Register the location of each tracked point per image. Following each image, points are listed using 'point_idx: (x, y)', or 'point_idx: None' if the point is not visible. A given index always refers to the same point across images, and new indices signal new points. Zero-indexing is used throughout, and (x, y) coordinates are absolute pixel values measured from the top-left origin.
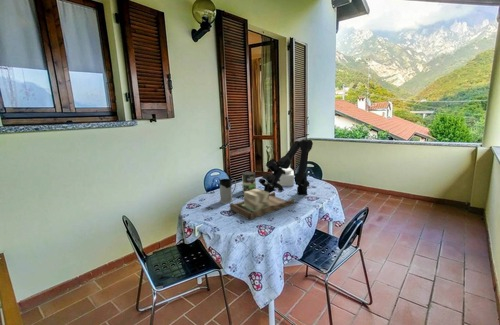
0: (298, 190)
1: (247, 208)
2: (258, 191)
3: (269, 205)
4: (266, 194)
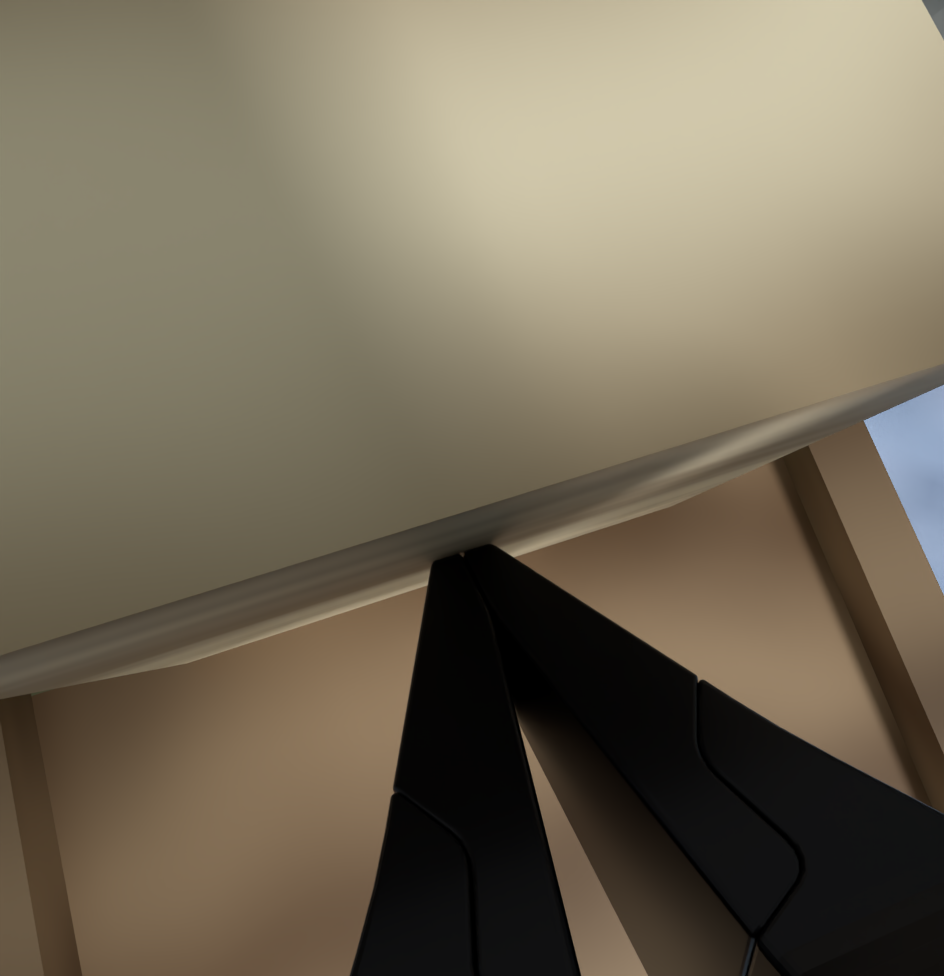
0: None
1: None
2: (317, 70)
3: (211, 684)
4: None
